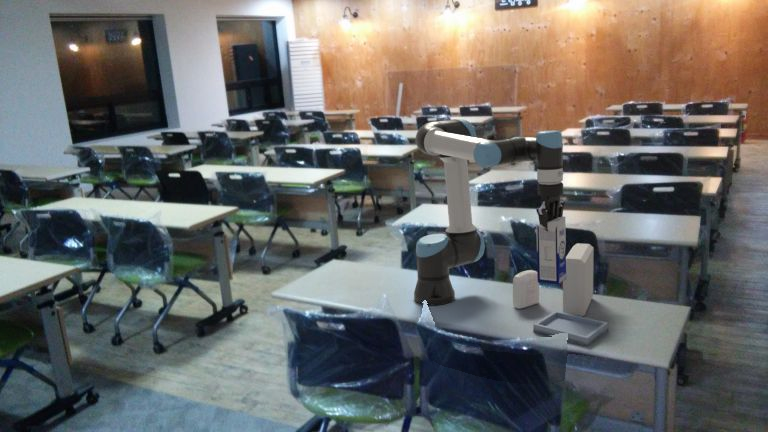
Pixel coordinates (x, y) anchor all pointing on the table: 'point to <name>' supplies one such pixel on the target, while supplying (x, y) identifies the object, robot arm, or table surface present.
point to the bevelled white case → (578, 280)
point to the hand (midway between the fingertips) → (551, 257)
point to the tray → (571, 327)
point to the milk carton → (551, 252)
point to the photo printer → (525, 289)
